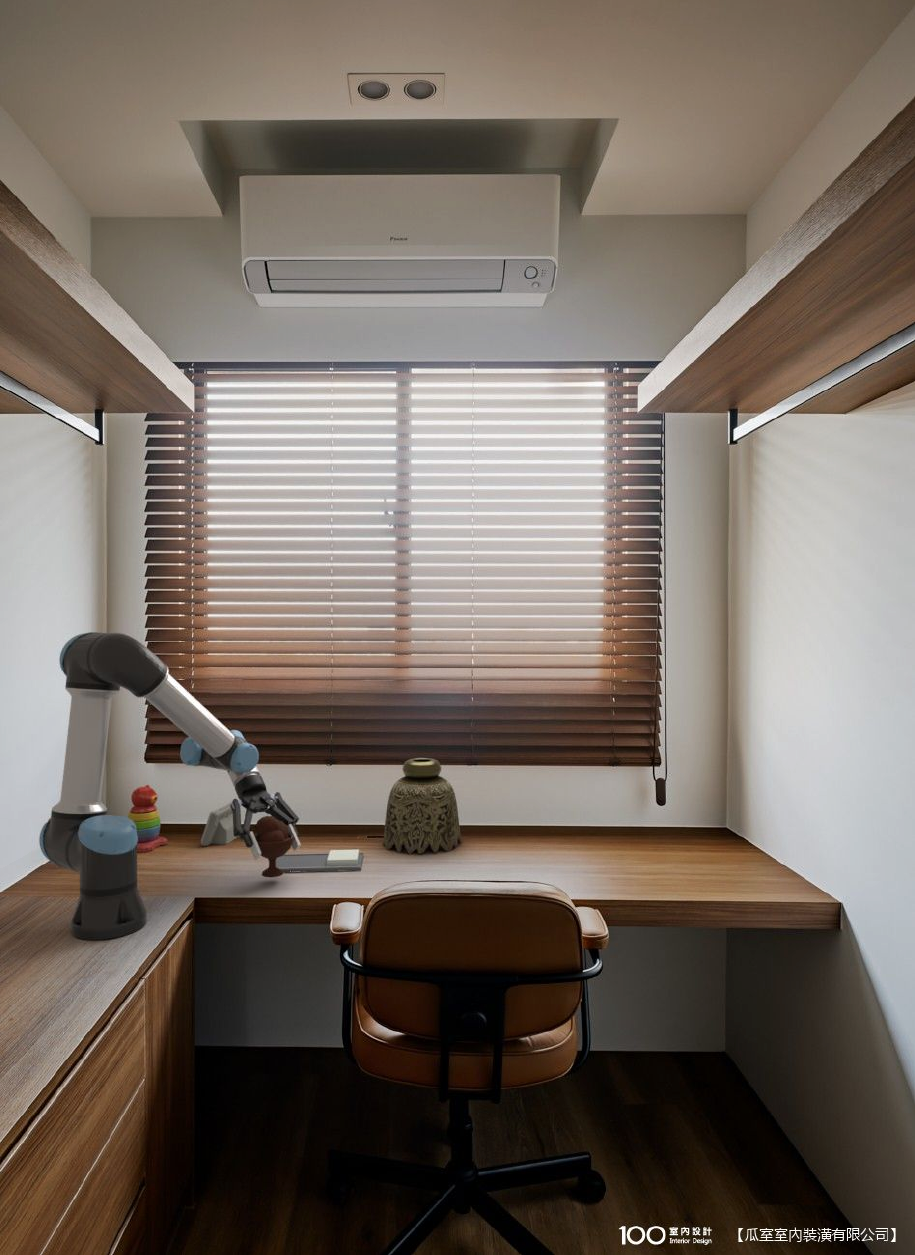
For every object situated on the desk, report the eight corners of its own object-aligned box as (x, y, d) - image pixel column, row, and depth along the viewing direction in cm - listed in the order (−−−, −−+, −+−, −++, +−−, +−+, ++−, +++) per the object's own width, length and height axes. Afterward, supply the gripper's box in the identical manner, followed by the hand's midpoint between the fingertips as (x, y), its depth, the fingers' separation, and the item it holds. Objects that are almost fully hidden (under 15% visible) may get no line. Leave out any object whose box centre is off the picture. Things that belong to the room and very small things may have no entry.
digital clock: (226, 832, 253) (225, 798, 253) (249, 834, 250) (249, 800, 250) (191, 846, 238) (191, 810, 238) (216, 849, 235) (216, 813, 235)
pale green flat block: (327, 866, 215) (327, 860, 215) (330, 855, 225) (330, 849, 225) (357, 865, 216) (357, 859, 216) (359, 854, 226) (359, 848, 226)
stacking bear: (146, 853, 231) (145, 791, 231) (117, 850, 234) (117, 789, 234) (171, 843, 241) (170, 784, 241) (143, 840, 245) (142, 781, 244)
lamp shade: (454, 856, 227) (453, 768, 226) (374, 853, 230) (374, 766, 230) (466, 834, 250) (465, 754, 249) (394, 831, 253) (393, 752, 253)
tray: (269, 872, 213) (269, 868, 213) (277, 858, 226) (277, 854, 226) (360, 870, 215) (360, 866, 214) (363, 856, 227) (363, 852, 227)
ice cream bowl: (284, 882, 199) (284, 821, 199) (242, 879, 202) (242, 819, 201) (301, 869, 210) (301, 811, 210) (261, 866, 212) (261, 809, 212)
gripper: (280, 784, 225) (311, 851, 213) (202, 796, 209) (231, 869, 197) (290, 768, 221) (322, 835, 210) (212, 778, 205) (242, 852, 194)
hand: (278, 852), depth 203 cm, fingers closed on ice cream bowl, 11 cm apart
